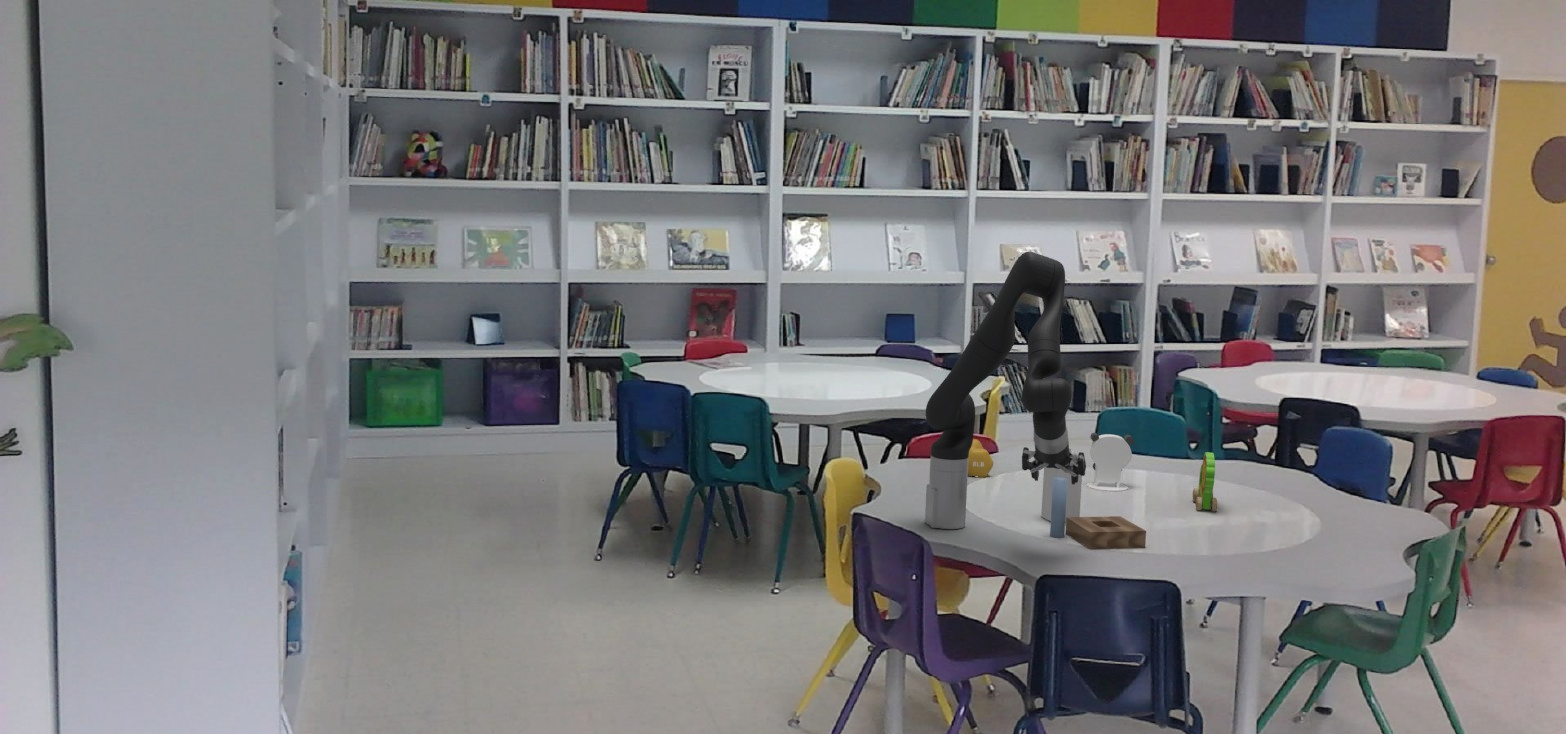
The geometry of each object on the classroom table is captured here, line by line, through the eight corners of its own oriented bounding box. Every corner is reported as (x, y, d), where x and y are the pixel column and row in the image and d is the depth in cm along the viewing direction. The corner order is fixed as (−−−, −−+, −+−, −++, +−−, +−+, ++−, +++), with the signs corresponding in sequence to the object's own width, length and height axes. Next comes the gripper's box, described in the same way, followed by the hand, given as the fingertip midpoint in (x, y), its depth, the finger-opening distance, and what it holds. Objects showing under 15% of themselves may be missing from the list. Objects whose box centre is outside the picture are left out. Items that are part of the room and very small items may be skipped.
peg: (1053, 537, 329) (1056, 480, 327) (1047, 534, 332) (1050, 477, 330) (1066, 537, 329) (1069, 480, 327) (1060, 533, 333) (1064, 477, 331)
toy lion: (1191, 500, 374) (1195, 445, 371) (1212, 501, 372) (1216, 446, 370) (1196, 513, 358) (1200, 456, 356) (1218, 515, 357) (1222, 457, 355)
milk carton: (1053, 523, 342) (1058, 449, 340) (1040, 516, 349) (1045, 443, 346) (1079, 522, 344) (1084, 448, 342) (1066, 515, 351) (1070, 442, 348)
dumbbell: (953, 464, 412) (954, 437, 411) (983, 465, 412) (985, 438, 411) (961, 478, 393) (963, 449, 392) (993, 478, 393) (995, 450, 392)
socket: (1089, 548, 320) (1090, 532, 319) (1065, 533, 333) (1066, 517, 333) (1145, 547, 322) (1146, 530, 322) (1119, 532, 336) (1120, 516, 335)
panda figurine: (1127, 483, 391) (1130, 432, 389) (1133, 492, 380) (1136, 439, 378) (1084, 481, 393) (1087, 430, 390) (1089, 490, 381) (1092, 437, 379)
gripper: (1085, 428, 307) (1088, 469, 319) (1021, 423, 311) (1026, 463, 324) (1081, 456, 302) (1084, 496, 315) (1016, 450, 307) (1022, 489, 319)
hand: (1055, 479), depth 319 cm, fingers open, 8 cm apart
